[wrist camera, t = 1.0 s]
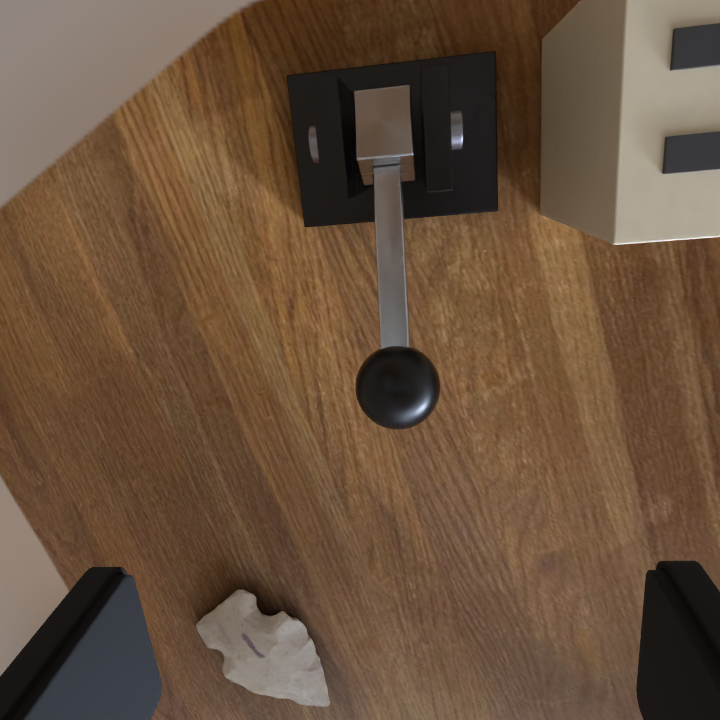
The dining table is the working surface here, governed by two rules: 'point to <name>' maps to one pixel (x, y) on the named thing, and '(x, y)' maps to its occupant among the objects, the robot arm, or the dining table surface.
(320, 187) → the lever bracket
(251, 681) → the decorative stone
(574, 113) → the toaster
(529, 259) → the dining table surface
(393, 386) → the lever
